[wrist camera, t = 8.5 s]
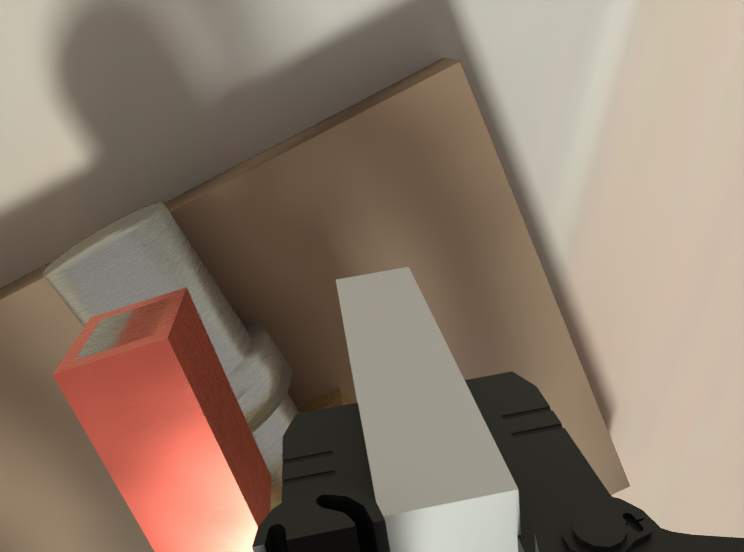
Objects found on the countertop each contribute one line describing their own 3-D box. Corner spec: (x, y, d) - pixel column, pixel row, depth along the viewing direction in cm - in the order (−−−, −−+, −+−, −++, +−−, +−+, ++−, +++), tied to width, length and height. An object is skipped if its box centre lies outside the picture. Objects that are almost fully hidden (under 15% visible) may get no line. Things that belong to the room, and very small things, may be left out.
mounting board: (160, 665, 28) (151, 710, 26) (-138, 360, 21) (-179, 392, 19) (606, 454, 27) (630, 486, 25) (444, 58, 20) (460, 61, 18)
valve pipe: (325, 627, 27) (338, 827, 20) (39, 257, 19) (-90, 380, 13) (452, 567, 26) (509, 751, 20) (211, 168, 19) (171, 245, 12)
